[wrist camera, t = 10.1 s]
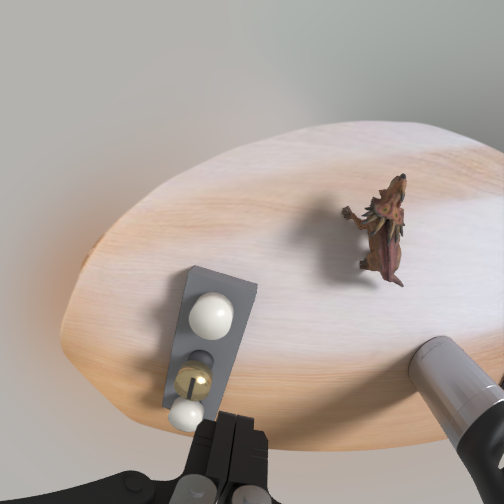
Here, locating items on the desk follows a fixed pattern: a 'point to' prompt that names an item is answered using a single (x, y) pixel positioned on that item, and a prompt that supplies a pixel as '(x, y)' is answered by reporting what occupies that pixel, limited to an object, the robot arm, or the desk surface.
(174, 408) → the cream knob
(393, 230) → the dinosaur figurine
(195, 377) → the brass dial
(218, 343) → the control strip
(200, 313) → the cream knob
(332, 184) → the desk surface
